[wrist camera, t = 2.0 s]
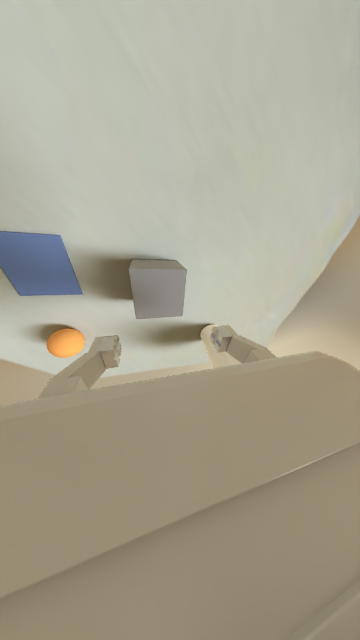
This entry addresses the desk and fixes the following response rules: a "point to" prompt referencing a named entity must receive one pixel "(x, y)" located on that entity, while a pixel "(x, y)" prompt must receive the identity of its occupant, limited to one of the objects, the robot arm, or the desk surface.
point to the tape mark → (37, 264)
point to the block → (157, 288)
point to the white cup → (216, 357)
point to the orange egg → (65, 343)
